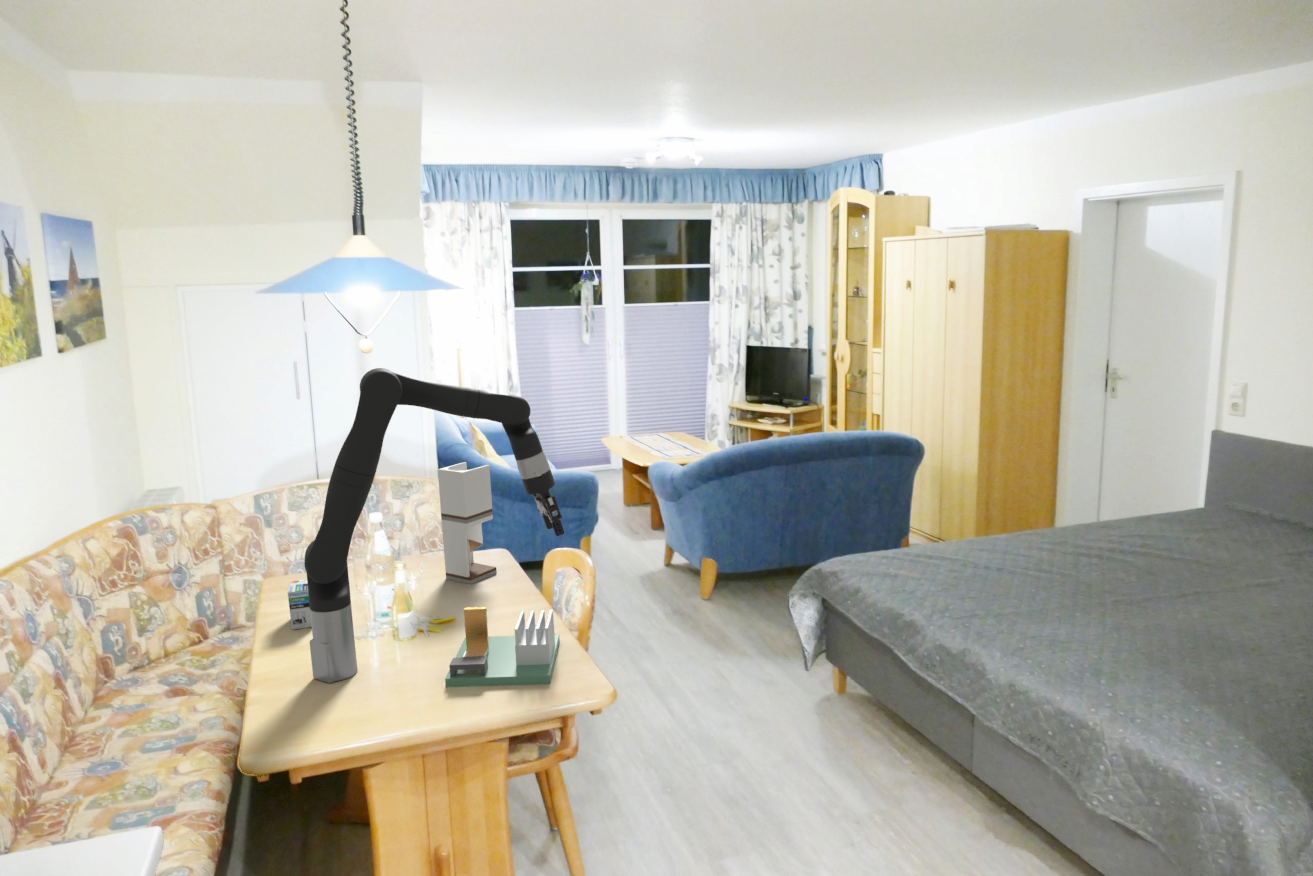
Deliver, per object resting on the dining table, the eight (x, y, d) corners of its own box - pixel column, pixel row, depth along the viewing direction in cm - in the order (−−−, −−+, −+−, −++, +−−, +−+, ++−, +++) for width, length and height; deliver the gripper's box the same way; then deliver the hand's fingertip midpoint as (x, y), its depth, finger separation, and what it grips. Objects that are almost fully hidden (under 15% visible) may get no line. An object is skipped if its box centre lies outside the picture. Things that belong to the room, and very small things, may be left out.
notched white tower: (470, 584, 278) (462, 472, 272) (446, 578, 284) (437, 469, 278) (496, 573, 288) (489, 465, 281) (472, 568, 293) (464, 462, 287)
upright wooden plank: (467, 650, 224) (464, 607, 222) (489, 649, 224) (486, 607, 222) (463, 660, 218) (459, 617, 216) (484, 659, 218) (481, 616, 216)
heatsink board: (465, 644, 233) (462, 603, 231) (559, 641, 233) (557, 600, 231) (445, 687, 210) (442, 642, 208) (550, 683, 210) (547, 638, 208)
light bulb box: (317, 626, 248) (313, 589, 247) (291, 630, 246) (287, 592, 244) (318, 613, 258) (314, 577, 256) (292, 617, 256) (288, 580, 254)
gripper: (514, 473, 231) (535, 531, 235) (527, 481, 218) (549, 543, 222) (542, 462, 234) (561, 520, 237) (556, 470, 221) (577, 531, 224)
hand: (555, 531), depth 230 cm, fingers open, 8 cm apart
